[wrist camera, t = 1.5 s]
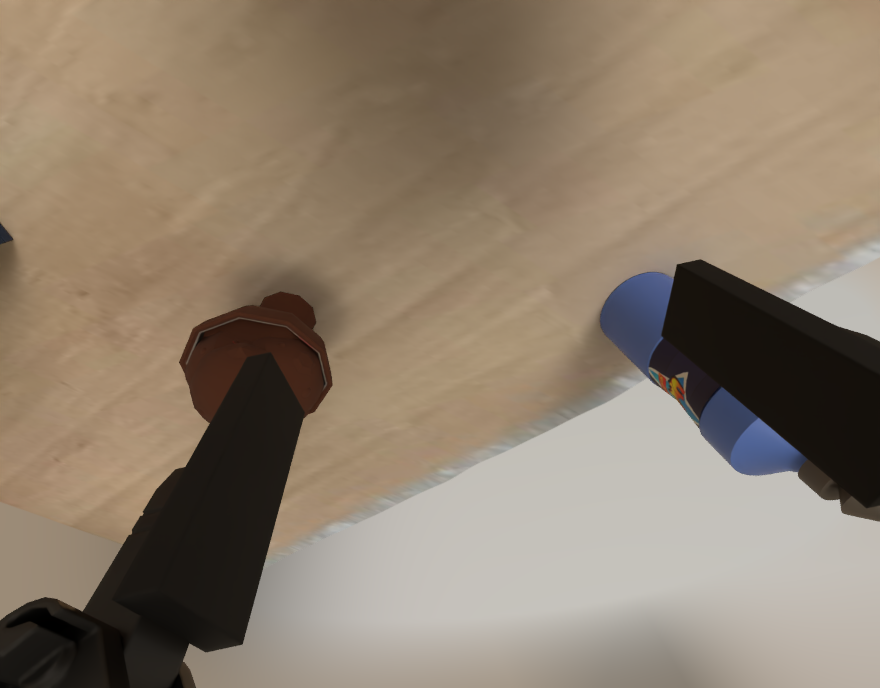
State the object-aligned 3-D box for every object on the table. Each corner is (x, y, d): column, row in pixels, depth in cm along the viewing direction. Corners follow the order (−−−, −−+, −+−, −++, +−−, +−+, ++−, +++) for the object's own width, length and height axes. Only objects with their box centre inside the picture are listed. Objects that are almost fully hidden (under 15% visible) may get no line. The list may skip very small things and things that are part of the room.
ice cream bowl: (213, 334, 36) (120, 453, 23) (254, 242, 31) (168, 327, 19) (313, 375, 40) (280, 494, 27) (361, 299, 36) (348, 400, 23)
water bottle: (664, 253, 37) (1014, 432, 16) (688, 311, 42) (985, 507, 21) (585, 307, 40) (805, 521, 19) (616, 356, 44) (820, 571, 23)
